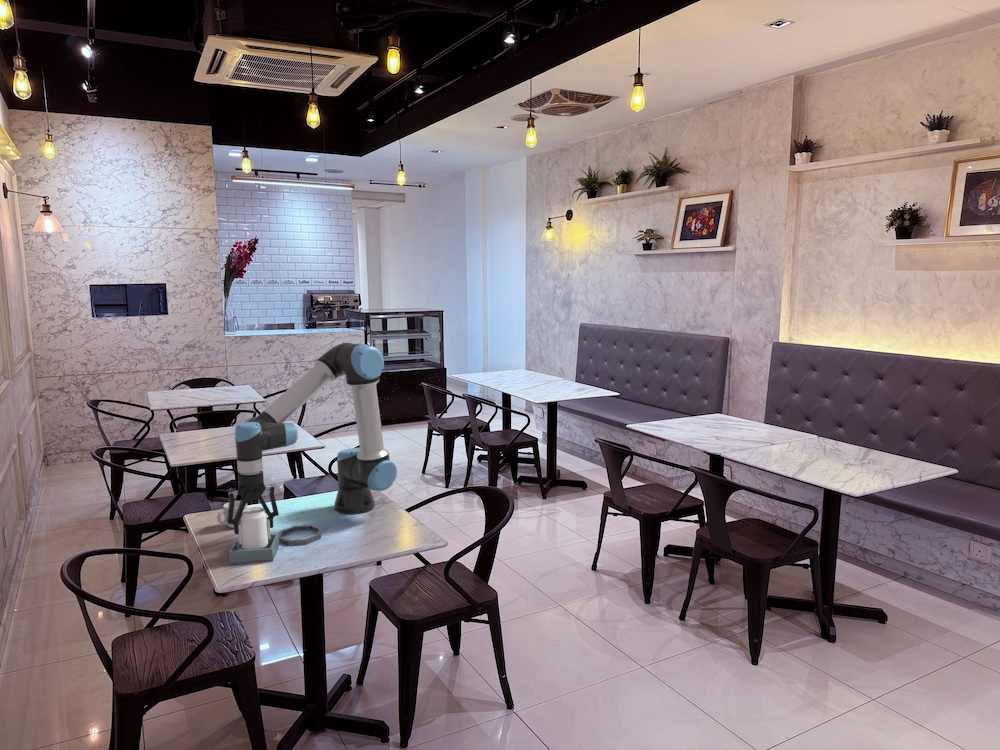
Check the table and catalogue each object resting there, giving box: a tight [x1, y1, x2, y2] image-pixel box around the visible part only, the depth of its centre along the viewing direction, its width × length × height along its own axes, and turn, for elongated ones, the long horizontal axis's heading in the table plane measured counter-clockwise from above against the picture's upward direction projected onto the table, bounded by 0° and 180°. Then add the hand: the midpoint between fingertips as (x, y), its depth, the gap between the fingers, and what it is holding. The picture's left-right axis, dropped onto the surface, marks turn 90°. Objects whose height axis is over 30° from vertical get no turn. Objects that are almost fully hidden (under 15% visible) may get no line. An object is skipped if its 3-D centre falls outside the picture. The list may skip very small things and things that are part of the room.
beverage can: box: [240, 506, 268, 550], centre depth 213 cm, size 8×8×12 cm
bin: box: [228, 533, 280, 565], centre depth 214 cm, size 13×13×4 cm
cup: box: [216, 500, 248, 529], centre depth 237 cm, size 11×8×8 cm
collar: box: [278, 524, 323, 546], centre depth 228 cm, size 14×14×2 cm
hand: (254, 540), depth 214 cm, fingers closed on beverage can, 8 cm apart
